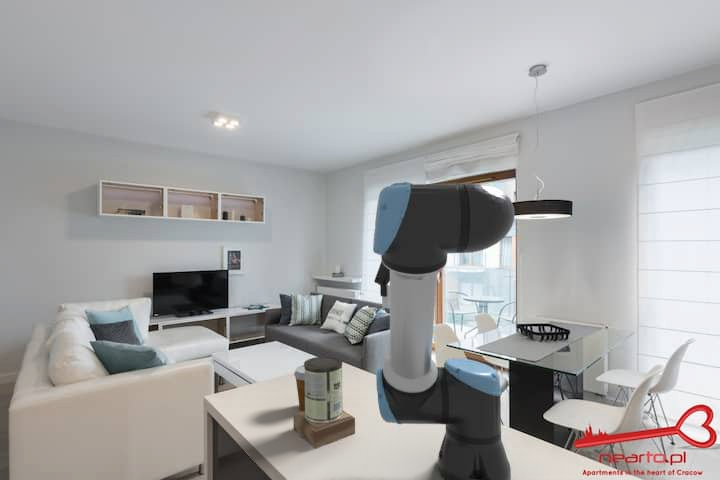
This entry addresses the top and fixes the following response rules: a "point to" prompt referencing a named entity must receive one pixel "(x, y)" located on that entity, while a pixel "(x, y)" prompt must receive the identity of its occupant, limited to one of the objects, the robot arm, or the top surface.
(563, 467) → the top surface
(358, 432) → the top surface
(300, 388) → the disposable coffee cup
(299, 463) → the top surface
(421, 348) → the robot arm
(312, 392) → the coffee can
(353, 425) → the stand
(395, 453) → the top surface
